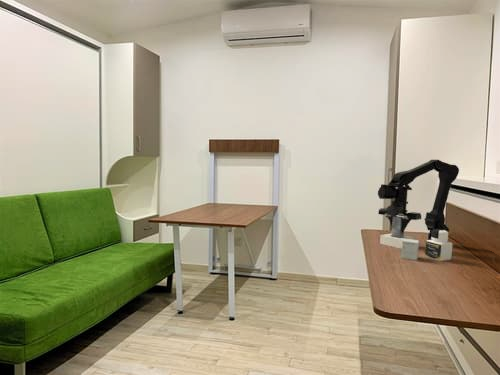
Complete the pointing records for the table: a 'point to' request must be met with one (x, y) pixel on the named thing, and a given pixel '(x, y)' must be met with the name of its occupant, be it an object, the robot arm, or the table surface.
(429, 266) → the table surface
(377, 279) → the table surface
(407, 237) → the socket block
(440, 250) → the medicine bottle
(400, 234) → the peg
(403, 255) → the product box
